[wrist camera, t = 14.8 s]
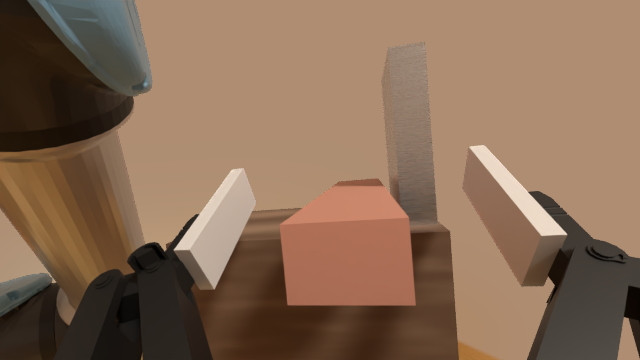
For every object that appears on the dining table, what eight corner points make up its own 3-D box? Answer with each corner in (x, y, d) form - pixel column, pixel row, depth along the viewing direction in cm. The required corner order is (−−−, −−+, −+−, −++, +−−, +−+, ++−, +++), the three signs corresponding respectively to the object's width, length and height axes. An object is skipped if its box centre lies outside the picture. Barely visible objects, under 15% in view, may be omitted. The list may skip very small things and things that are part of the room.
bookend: (437, 224, 19) (424, 41, 19) (402, 226, 20) (388, 47, 19) (416, 206, 27) (407, 77, 26) (391, 208, 27) (381, 81, 27)
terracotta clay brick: (415, 305, 9) (408, 217, 9) (287, 305, 10) (279, 224, 10) (380, 204, 31) (377, 178, 30) (341, 206, 31) (339, 181, 31)
